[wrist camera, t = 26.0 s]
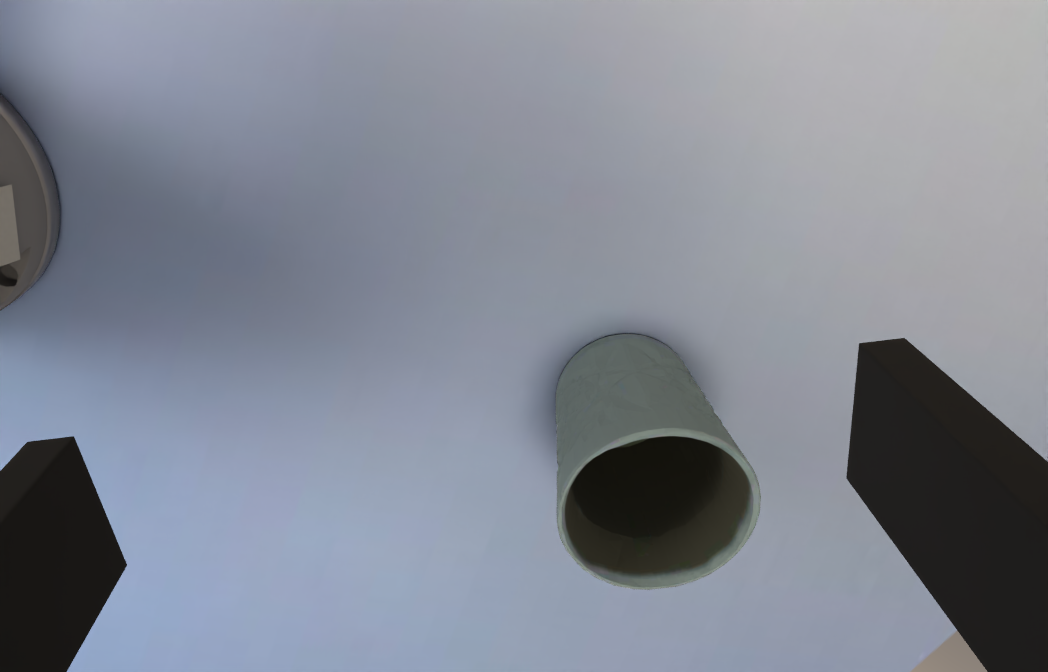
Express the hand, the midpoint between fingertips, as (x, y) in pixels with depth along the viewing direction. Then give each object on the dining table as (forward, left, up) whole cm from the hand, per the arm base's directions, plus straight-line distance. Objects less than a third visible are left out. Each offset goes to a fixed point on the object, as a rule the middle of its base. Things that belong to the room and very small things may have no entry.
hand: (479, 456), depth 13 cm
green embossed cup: (+7, -18, -32) cm, 37 cm away
